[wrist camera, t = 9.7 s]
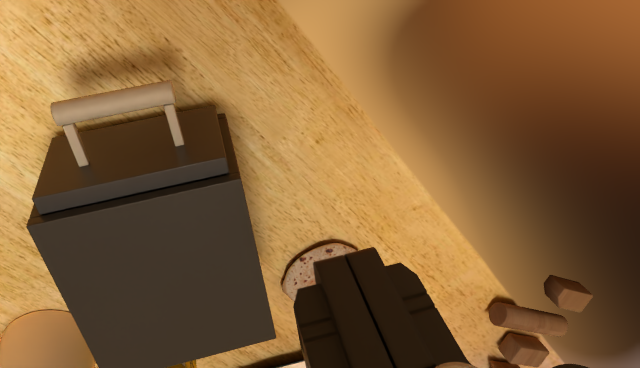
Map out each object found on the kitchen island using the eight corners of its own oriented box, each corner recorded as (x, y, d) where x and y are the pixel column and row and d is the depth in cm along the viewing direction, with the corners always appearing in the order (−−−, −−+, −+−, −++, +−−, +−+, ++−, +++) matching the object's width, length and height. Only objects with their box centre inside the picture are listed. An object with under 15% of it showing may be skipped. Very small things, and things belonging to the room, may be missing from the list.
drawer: (27, 80, 36) (-1, 134, 30) (201, 47, 38) (210, 92, 31) (112, 278, 46) (105, 351, 40) (247, 246, 48) (261, 310, 41)
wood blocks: (579, 281, 64) (518, 266, 59) (595, 296, 62) (533, 281, 57) (467, 432, 72) (406, 428, 67) (478, 449, 70) (415, 447, 65)
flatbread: (353, 229, 51) (356, 235, 50) (371, 284, 55) (375, 291, 54) (269, 262, 50) (271, 269, 49) (295, 315, 55) (297, 322, 54)
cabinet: (51, 148, 40) (25, 226, 32) (224, 112, 42) (241, 178, 34) (114, 293, 48) (106, 383, 40) (257, 258, 50) (276, 338, 42)
